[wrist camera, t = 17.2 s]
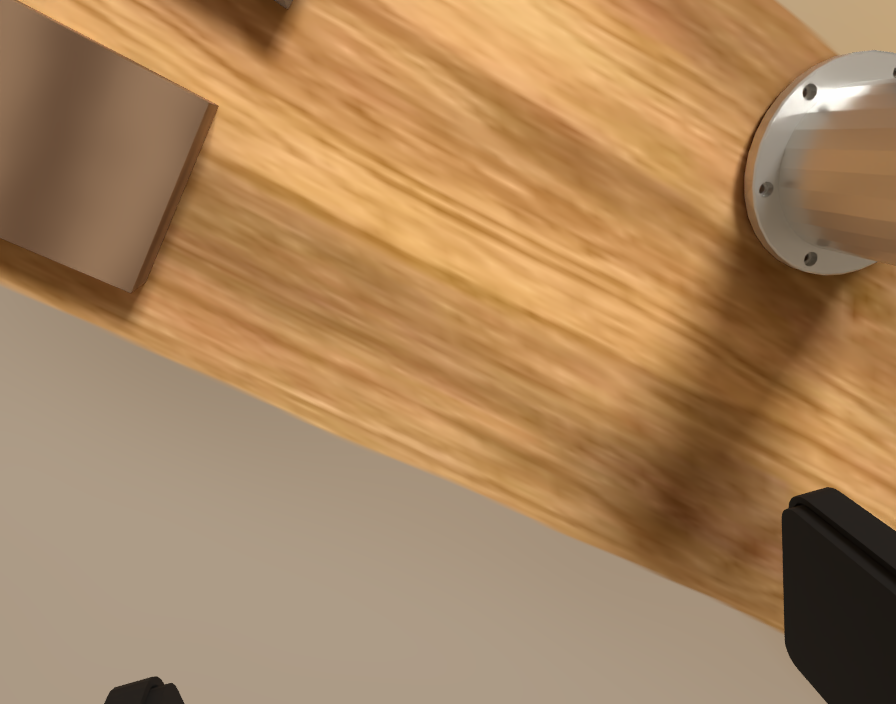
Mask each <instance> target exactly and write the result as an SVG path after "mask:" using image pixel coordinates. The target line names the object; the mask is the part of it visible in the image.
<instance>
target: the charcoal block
mask: <svg viewBox="0 0 896 704" xmlns="http://www.w3.org/2000/svg"><path fill="white" fill-rule="evenodd" d="M274 1H276V2H277V3H279V4H280V5H282V6H283V7H285V8H286V9H289V7H290V5H291V3H292V1H293V0H274Z"/></svg>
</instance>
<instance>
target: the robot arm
mask: <svg viewBox="0 0 896 704" xmlns="http://www.w3.org/2000/svg"><path fill="white" fill-rule="evenodd" d="M759 189H760V190H759ZM744 197H745V202H746V208H747V214H748V217H749V220H750V222H751V225H752V227H753V230H754V233H755V234H756V236H757V237H758V239H759V240H760V242H761V243H762V245H763V246H764V248H765V249H766V250H768V251H769V252H770V253H771V254H772V255H773V256H774V257H775V258H776V259H777V260H779V261H781V262H783V263H785V264H786V265H788V266H790V267H792V268H795V269H798V270H801V271H805V272H808V273H814V274H820V275H841V274H846V273H850V272H854V271H858V270H861V269H863V268H865V267H867V266H870V265H872V264H874V263H876V262H881V263H886V264H890V265H894V266H896V54H895V53H892V52H884V51H877V50H872V51H862V52H853V53H849V54H844V55H840V56H835V57H832V58H830V59H828V60H826V61H823V62H821V63H819V64H817V65H814V66H813V67H812V68H810V69H809V70H807V71H806V72H804V73H803V74H801V75H800V76H798V77H797V78H796V79H795V80H794V81H793V82H792V83H791V84H790V85H789V86H788V87H787V88H786V89H785V90H784V91H782V92H781V93H780V95H779V96H778V97H777V99H776V100H775V101H774V103H773V104H772V105H771V107H770V108H769V109H768V111H767V112H766V114H765V116H764V118H763V120H762V122H761V123H760V125H759V127H758V129H757V131H756V133H755V136H754V139H753V142H752V145H751V148H750V150H749V153H748V158H747V164H746V170H745V180H744ZM782 548H783V588H784V629H785V645H786V648H787V651H788V654H789V656H790V658H791V660H792V661H793V663H794V665H795V666H796V667H797V669H798V670H799V671H800V672H801V673H802V674H803V675H804V677H805V678H806V679H807V680H808V681H809V682H810V684H811V685H812V686H813V687H814V688H815V689H816V691H817V692H818V693H819V694H820V695H821V696H822V698H823V699H824V700H825V701H826V702H827V703H828V704H896V531H895V530H893V529H892V528H890V527H889V526H888V525H886V524H885V523H883V522H882V521H880V520H879V519H878V518H876V517H875V516H873V515H872V514H871V513H869V512H868V511H866V510H865V509H864V508H862V507H861V506H859V505H858V504H856V503H855V502H854V501H852V500H851V499H849V498H848V497H847V496H845V495H844V494H842V493H841V492H839V491H838V490H836V489H834V488H829V487H826V488H823V489H819V490H816V491H812V492H809V493H805V494H802V495H798V496H795V497H793V498H792V499H791V500H790V502H789V508H788V509H786V510H784V511H783V513H782ZM104 704H184V702H183V700H182V698H181V696H180V694H179V691H178V689H177V688H176V686H175V685H174V684H173V683H169V684H165V685H164V683H163V682H162V680H161V679H160V678H158V677H150V678H147V679H143V680H140V681H136V682H133V683H129V684H126V685H122V686H118V687H115V688H114V689H113V690H111V691H110V693H109V695H108V697H107V699H106V701H105V703H104Z"/></svg>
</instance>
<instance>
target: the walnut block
mask: <svg viewBox="0 0 896 704" xmlns="http://www.w3.org/2000/svg"><path fill="white" fill-rule="evenodd" d="M217 109H218V105H216V104H214V103H212V102H211V101H209V100H207V99H205V98H203V97H201V96H199V95H197V94H195V93H193V92H191V91H190V90H188V89H186V88H184V87H182V86H180V85H178V84H176V83H174V82H172V81H170V80H168V79H167V78H165V77H163V76H161V75H159V74H157V73H155V72H153V71H151V70H149V69H147V68H146V67H144V66H142V65H140V64H138V63H136V62H134V61H132V60H130V59H128V58H126V57H125V56H123V55H121V54H119V53H117V52H115V51H113V50H111V49H109V48H107V47H105V46H104V45H102V44H100V43H98V42H96V41H94V40H92V39H90V38H88V37H86V36H84V35H83V34H81V33H79V32H77V31H75V30H73V29H71V28H69V27H67V26H65V25H63V24H62V23H60V22H58V21H56V20H54V19H52V18H50V17H48V16H46V15H44V14H42V13H41V12H39V11H37V10H35V9H33V8H31V7H29V6H27V5H25V4H23V3H21V2H19V1H18V0H0V238H1V239H4V240H6V241H8V242H11V243H13V244H16V245H18V246H20V247H23V248H25V249H27V250H30V251H32V252H34V253H37V254H39V255H42V256H44V257H46V258H49V259H51V260H53V261H56V262H58V263H61V264H63V265H65V266H68V267H70V268H72V269H75V270H77V271H79V272H82V273H84V274H87V275H89V276H91V277H94V278H96V279H98V280H101V281H103V282H106V283H108V284H110V285H113V286H115V287H117V288H120V289H122V290H124V291H127V292H129V293H132V292H133V291H135V290H136V289H137V288H139V287H140V286H141V285H143V284H144V283H145V282H146V280H147V278H148V275H149V273H150V271H151V268H152V266H153V263H154V261H155V259H156V256H157V254H158V251H159V249H160V246H161V244H162V242H163V239H164V237H165V234H166V232H167V230H168V227H169V225H170V222H171V220H172V217H173V215H174V213H175V210H176V208H177V205H178V203H179V200H180V198H181V196H182V193H183V191H184V188H185V186H186V184H187V181H188V179H189V176H190V174H191V171H192V169H193V167H194V164H195V162H196V159H197V157H198V154H199V152H200V150H201V147H202V145H203V142H204V140H205V138H206V135H207V133H208V130H209V128H210V125H211V123H212V121H213V118H214V116H215V113H216V111H217Z"/></svg>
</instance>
